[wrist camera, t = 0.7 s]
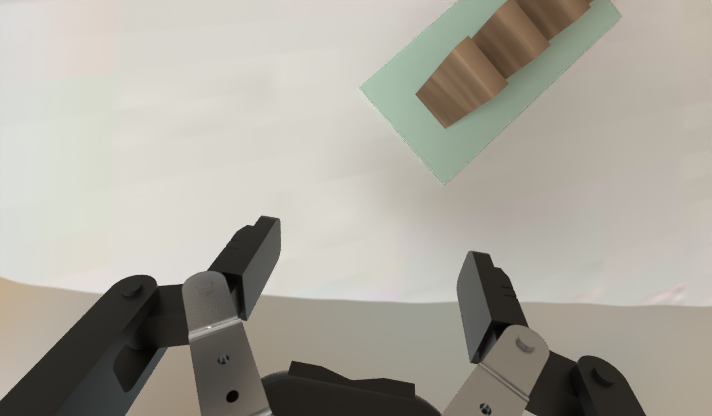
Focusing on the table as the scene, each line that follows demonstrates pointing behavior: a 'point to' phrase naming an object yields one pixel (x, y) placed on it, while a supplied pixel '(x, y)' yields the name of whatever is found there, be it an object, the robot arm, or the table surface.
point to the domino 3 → (553, 14)
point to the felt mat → (481, 126)
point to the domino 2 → (510, 39)
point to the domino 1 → (461, 84)
